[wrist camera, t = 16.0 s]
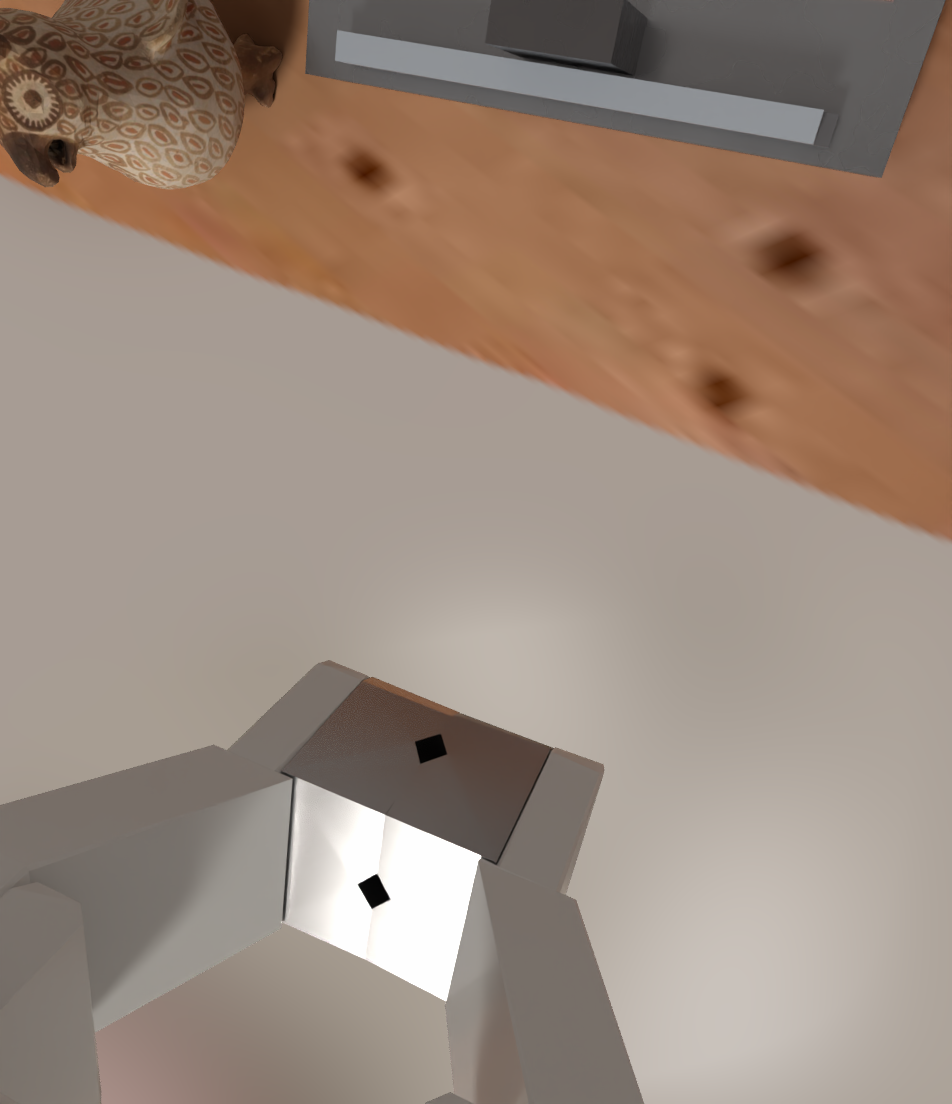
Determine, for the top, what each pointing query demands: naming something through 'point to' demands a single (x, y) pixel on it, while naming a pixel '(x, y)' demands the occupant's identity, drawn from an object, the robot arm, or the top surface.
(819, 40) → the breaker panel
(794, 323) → the top surface
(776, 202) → the top surface
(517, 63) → the pair of grey bars
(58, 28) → the figurine
